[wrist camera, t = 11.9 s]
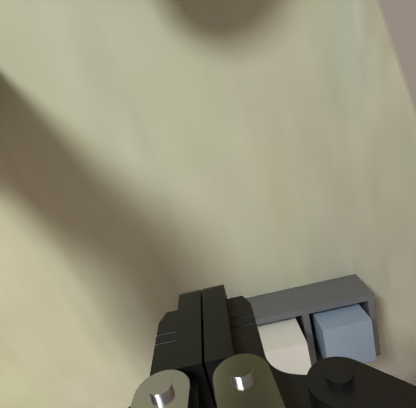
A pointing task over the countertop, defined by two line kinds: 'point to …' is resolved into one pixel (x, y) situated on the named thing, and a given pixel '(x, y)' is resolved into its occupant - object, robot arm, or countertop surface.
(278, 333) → the white key
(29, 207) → the countertop surface
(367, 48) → the countertop surface
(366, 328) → the slate key
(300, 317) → the key panel
